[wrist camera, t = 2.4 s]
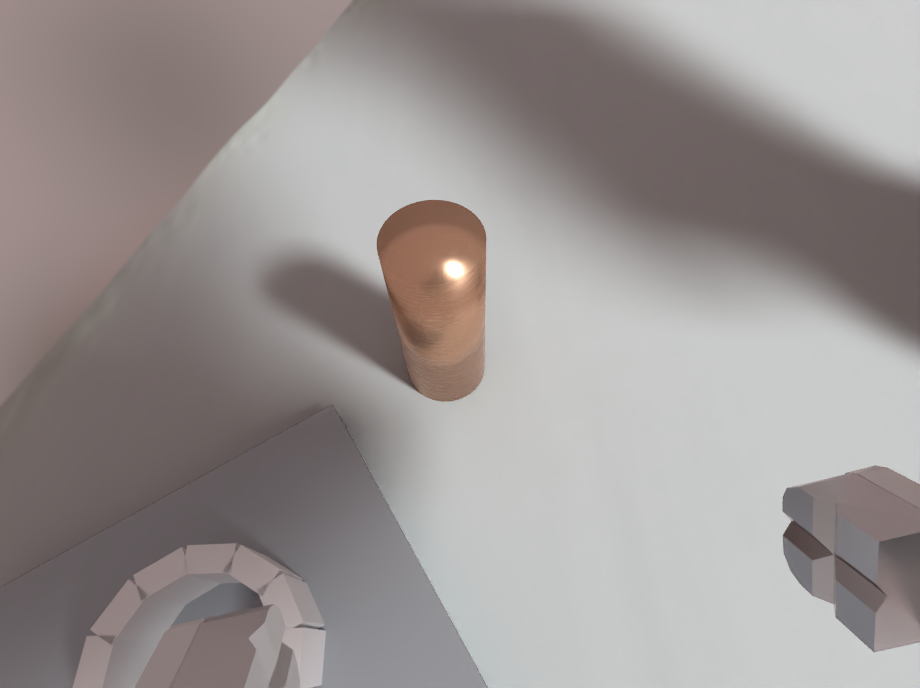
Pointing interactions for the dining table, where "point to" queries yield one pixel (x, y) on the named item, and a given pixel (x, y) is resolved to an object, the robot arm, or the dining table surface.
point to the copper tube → (437, 294)
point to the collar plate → (264, 518)
